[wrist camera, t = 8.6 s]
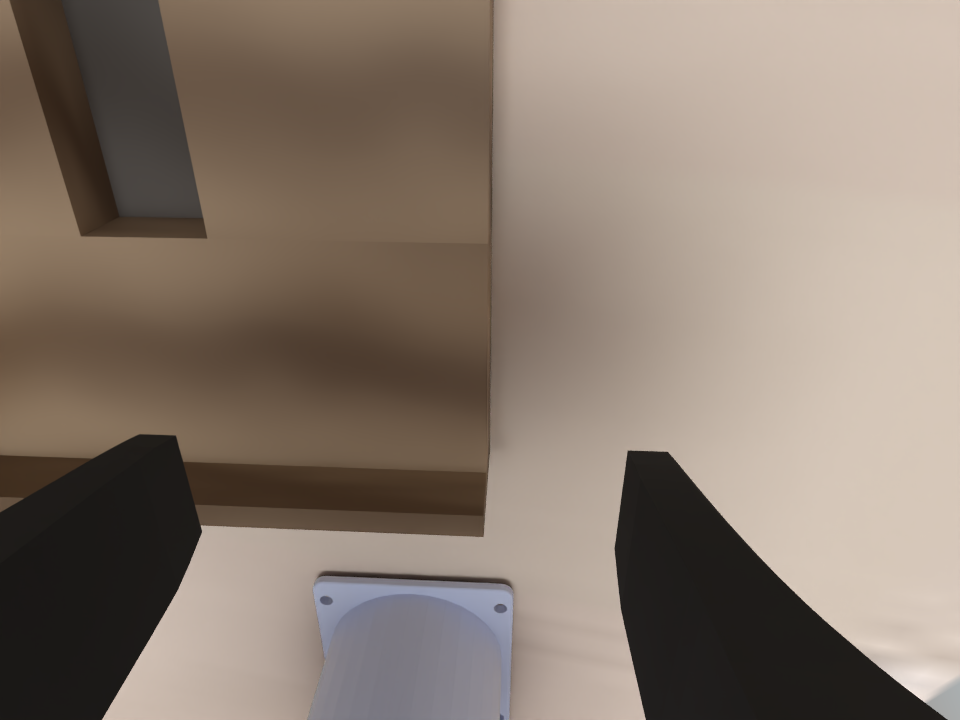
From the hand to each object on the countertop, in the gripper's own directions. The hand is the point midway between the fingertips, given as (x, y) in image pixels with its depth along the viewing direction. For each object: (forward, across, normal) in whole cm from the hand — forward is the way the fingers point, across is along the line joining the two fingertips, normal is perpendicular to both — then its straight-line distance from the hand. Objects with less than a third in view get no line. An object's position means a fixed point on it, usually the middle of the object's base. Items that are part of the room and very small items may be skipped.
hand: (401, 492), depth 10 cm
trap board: (+10, +10, -1) cm, 15 cm away
